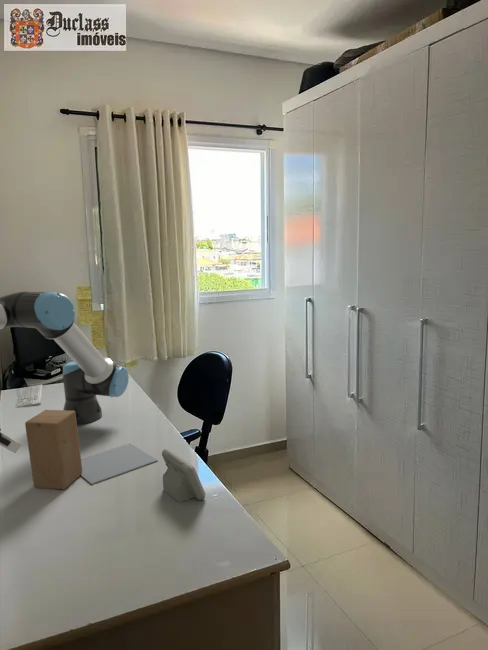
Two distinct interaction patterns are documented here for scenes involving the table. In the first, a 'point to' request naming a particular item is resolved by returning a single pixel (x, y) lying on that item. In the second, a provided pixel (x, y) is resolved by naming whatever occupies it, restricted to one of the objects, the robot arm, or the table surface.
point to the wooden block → (54, 449)
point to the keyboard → (29, 396)
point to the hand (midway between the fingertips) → (17, 448)
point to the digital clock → (181, 478)
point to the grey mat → (114, 463)
